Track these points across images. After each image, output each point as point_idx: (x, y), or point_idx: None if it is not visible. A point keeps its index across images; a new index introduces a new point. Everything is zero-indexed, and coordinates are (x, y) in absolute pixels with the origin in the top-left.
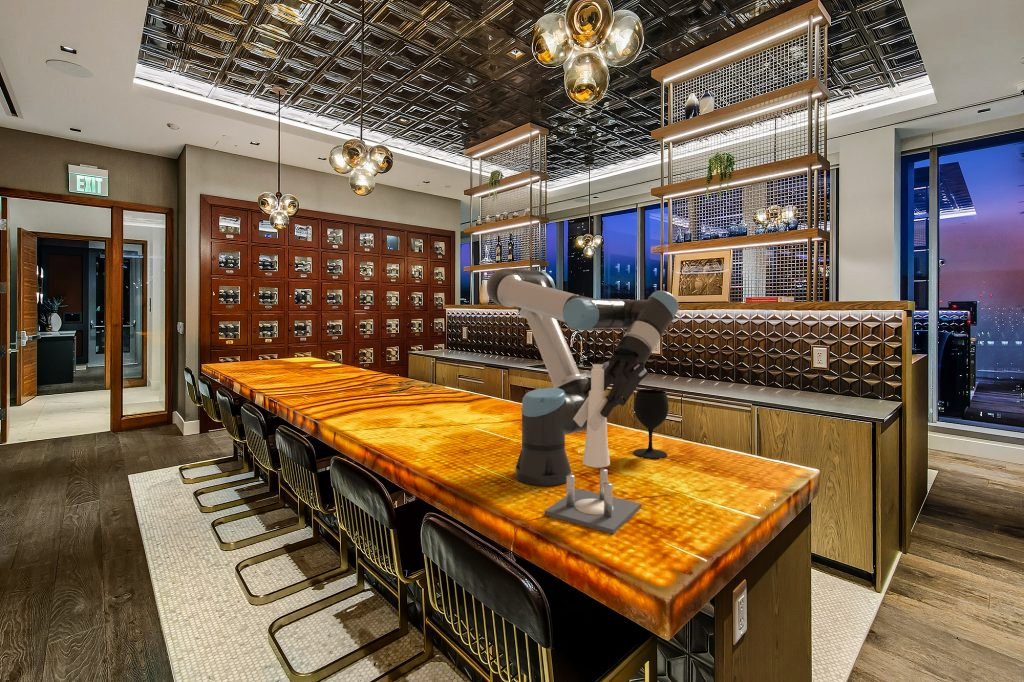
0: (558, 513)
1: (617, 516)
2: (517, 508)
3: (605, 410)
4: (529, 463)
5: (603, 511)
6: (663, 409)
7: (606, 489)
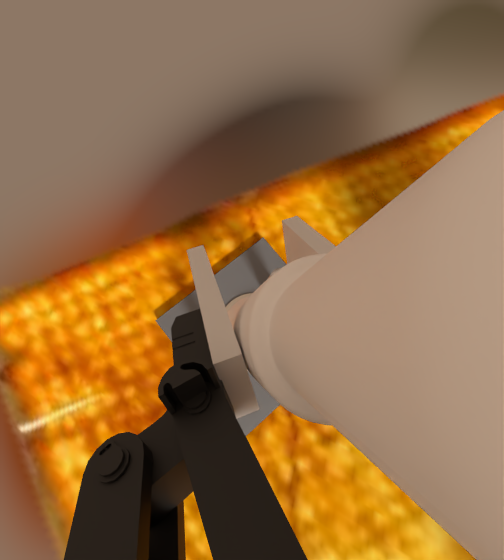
0: (244, 255)
1: None
2: (299, 207)
3: (175, 333)
4: None
5: None
6: None
7: None
